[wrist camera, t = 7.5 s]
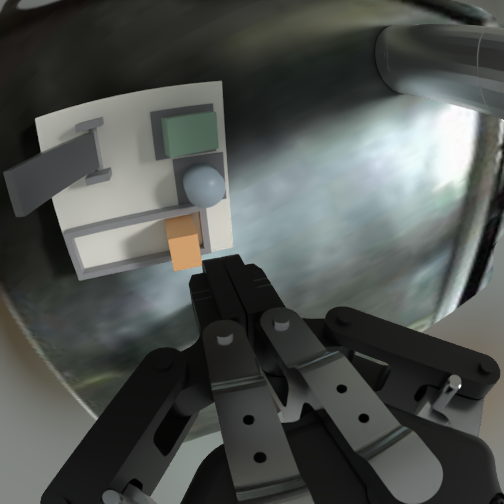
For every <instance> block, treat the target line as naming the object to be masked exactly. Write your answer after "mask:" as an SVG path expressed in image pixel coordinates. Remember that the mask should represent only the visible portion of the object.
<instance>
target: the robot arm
mask: <svg viewBox="0 0 504 504" xmlns="http://www.w3.org/2000/svg"><path fill="white" fill-rule="evenodd" d="M375 60H376V64H377V68H378V71H379V73H380V75H381V77H382V79H383V80H384V82H385V83H386V84H387V85H388V86H389V87H390V88H391V89H392V90H394V91H396V92H398V93H402V94H407V95H413V96H418V97H422V98H427V99H431V100H436V101H440V102H444V103H448V104H452V105H456V106H460V107H464V108H467V109H471V110H475V111H478V112H481V113H485V114H488V115H491V116H494V117H498V118H500V119H503V120H504V29H503V28H495V27H484V26H472V25H455V24H409V25H393V26H389V27H387V28H385V29H384V30H383V31H382V32H381V33H380V35H379V37H378V39H377V42H376V45H375ZM202 268H203V273H200V274H195V275H192V276H191V279H190V282H189V288H190V294H191V300H192V306H193V311H194V315H195V319H196V323H197V327H198V331H199V334H200V337H199V339H198V340H197V342H196V343H195V344H193V345H192V346H191V347H189V348H187V349H185V350H183V351H181V352H180V351H179V350H176V349H174V348H168V347H165V348H159V349H156V350H153V351H152V352H150V353H149V354H148V355H147V356H146V357H145V358H144V359H143V361H142V362H141V363H140V365H139V366H138V367H137V368H136V370H135V371H134V372H133V374H132V375H131V376H130V377H129V379H128V380H127V381H126V383H125V384H124V385H123V387H122V388H121V389H120V391H119V392H118V393H117V394H116V396H115V397H114V398H113V400H112V401H111V402H110V404H109V405H108V406H107V408H106V409H105V410H104V412H103V413H102V414H101V416H100V417H99V418H98V420H97V421H96V422H95V424H94V425H93V426H92V428H91V429H90V430H89V432H88V433H87V434H86V436H85V437H84V438H83V440H82V441H81V443H80V444H79V445H78V446H77V448H76V449H75V450H74V452H73V453H72V454H71V456H70V457H69V459H68V460H67V461H66V463H65V464H64V465H63V467H62V468H61V469H60V471H59V472H58V474H57V475H56V477H55V478H54V479H53V480H52V482H51V483H50V485H49V486H48V488H47V489H46V490H45V492H44V493H43V495H42V497H41V502H40V503H41V504H157V503H156V502H155V501H154V500H153V499H152V498H151V497H150V496H151V494H152V493H153V491H154V490H155V488H156V486H157V484H158V483H159V481H160V479H161V478H162V476H163V474H164V473H165V471H166V470H167V468H168V466H169V464H170V463H171V461H172V459H173V458H174V456H175V454H176V452H177V451H178V449H179V447H180V446H181V444H182V442H183V441H184V439H185V437H186V435H187V434H188V432H189V430H190V428H191V427H192V425H193V423H194V421H195V420H196V418H197V416H198V414H199V410H201V409H203V408H205V407H207V406H208V405H210V404H212V403H214V402H215V407H216V412H217V416H218V421H219V425H220V430H221V434H222V438H223V443H224V444H222V445H220V446H219V447H217V448H216V449H214V450H213V451H212V452H211V453H210V454H209V455H208V456H207V457H206V458H205V459H204V460H203V461H202V463H201V464H200V466H199V467H198V469H197V471H196V473H195V475H194V477H193V479H192V482H191V483H190V485H189V488H188V489H187V491H186V493H185V495H184V497H183V499H182V501H181V503H180V504H504V494H503V493H502V491H501V488H500V485H499V482H498V478H497V473H496V466H495V460H494V456H493V453H492V451H491V449H490V448H489V446H488V445H487V444H486V443H485V442H484V441H483V440H482V439H480V438H479V431H480V424H481V418H482V410H483V402H484V397H485V396H486V395H487V393H488V392H489V391H490V390H491V388H492V387H493V386H494V385H495V384H496V382H497V381H498V380H499V378H500V369H499V366H498V364H497V363H496V361H494V359H493V358H491V357H490V356H488V355H485V354H482V353H479V352H476V351H473V350H470V349H468V348H465V347H462V346H458V345H456V344H453V343H450V342H447V341H444V340H441V339H438V338H435V337H432V336H429V335H426V334H424V333H421V332H418V331H415V330H412V329H409V328H406V327H403V326H401V325H398V324H395V323H392V322H389V321H386V320H384V319H381V318H378V317H375V316H372V315H370V314H367V313H364V312H361V311H358V310H356V309H353V308H350V307H335V308H333V309H331V310H330V311H328V313H327V314H326V317H325V319H306V318H301V317H300V315H299V314H298V313H297V312H295V311H294V310H292V309H289V308H286V307H285V305H284V304H283V302H282V301H281V299H280V297H279V296H278V294H277V292H276V291H275V289H274V288H273V286H272V285H271V283H270V281H269V280H268V279H267V276H266V275H265V273H264V272H263V270H262V269H261V268H259V267H258V266H256V265H255V264H248V265H245V264H244V263H243V261H242V259H241V257H240V255H239V254H235V255H230V256H224V257H221V258H220V257H219V258H213V259H208V260H202ZM355 352H359V353H362V354H364V355H367V356H370V357H372V358H375V359H378V360H380V361H383V362H386V363H387V364H389V365H387V366H385V365H380V364H378V363H375V362H373V361H370V360H367V359H365V358H362V357H359V356H357V355H355ZM254 358H257V359H258V361H259V363H260V374H261V376H260V374H259V371H258V368H257V365H256V362H255V359H254ZM270 393H271V394H272V396H273V398H274V400H275V401H276V403H277V405H278V407H279V408H280V410H281V412H282V414H283V418H284V423H281V422H280V419H279V416H278V413H277V411H276V408H275V405H274V402H273V399H272V396H271V394H270Z"/></svg>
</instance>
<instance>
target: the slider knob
mask: <svg viewBox="0 0 504 504" xmlns="http://www.w3.org/2000/svg"><path fill="white" fill-rule="evenodd" d="M164 221H165V227H166V232H167V238H168V243H169V248H170V253H171V258H172V263H173V268H174V271H179V270H183V269H188V268H193V267H197V266H202V260H201V254H200V247H199V240H198V233H197V231H196V228H195V226H194V223H193V220H192V218H191V215H190V214H189V215H184V216H179V217H173V218H168V219H164Z"/></svg>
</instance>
